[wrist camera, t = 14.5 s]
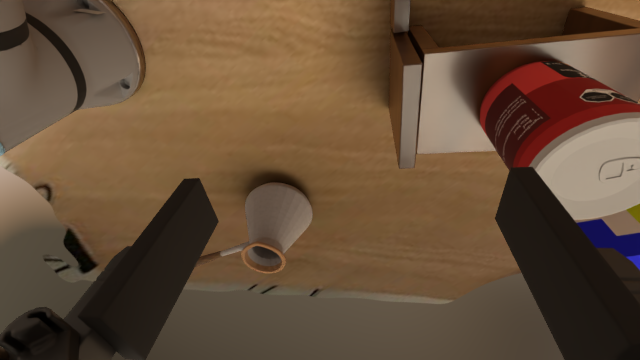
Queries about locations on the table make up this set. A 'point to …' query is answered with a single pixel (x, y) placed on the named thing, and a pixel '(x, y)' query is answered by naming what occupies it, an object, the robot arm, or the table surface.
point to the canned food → (567, 135)
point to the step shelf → (491, 75)
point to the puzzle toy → (616, 232)
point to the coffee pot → (270, 226)
